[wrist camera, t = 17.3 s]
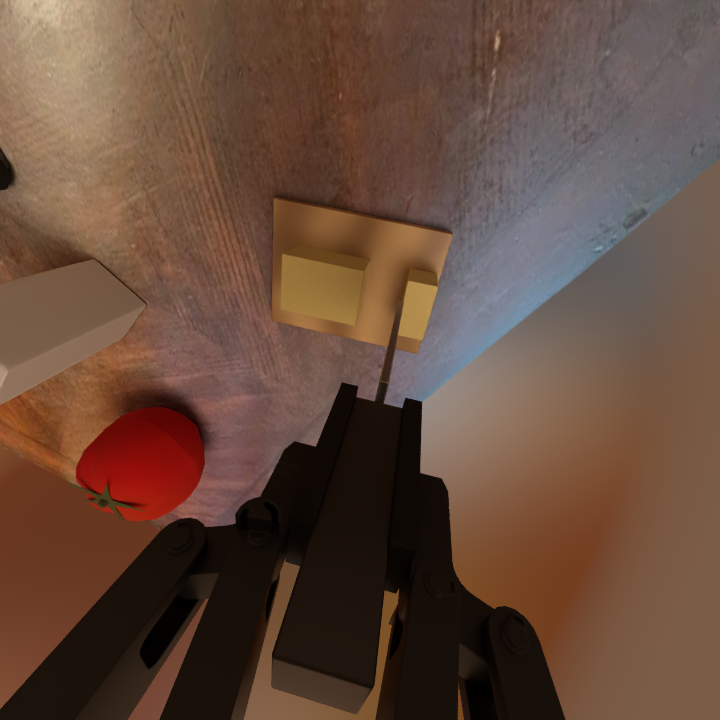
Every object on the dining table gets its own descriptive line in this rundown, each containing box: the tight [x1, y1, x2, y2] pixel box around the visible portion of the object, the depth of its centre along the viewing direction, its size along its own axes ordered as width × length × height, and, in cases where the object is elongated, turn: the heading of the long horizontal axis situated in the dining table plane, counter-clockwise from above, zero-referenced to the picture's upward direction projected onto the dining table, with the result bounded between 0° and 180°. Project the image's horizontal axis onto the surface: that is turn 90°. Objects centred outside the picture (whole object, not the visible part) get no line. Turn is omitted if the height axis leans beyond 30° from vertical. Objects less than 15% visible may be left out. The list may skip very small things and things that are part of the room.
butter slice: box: [398, 268, 438, 340], centre depth 29 cm, size 2×5×4 cm, turn 171°
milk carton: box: [0, 259, 146, 405], centre depth 31 cm, size 7×7×19 cm
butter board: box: [272, 197, 453, 354], centre depth 31 cm, size 16×12×2 cm
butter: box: [281, 245, 371, 326], centre depth 29 cm, size 7×5×4 cm
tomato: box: [68, 407, 205, 521], centre depth 43 cm, size 16×14×14 cm
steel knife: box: [271, 300, 404, 714], centre depth 15 cm, size 2×4×19 cm, turn 171°
